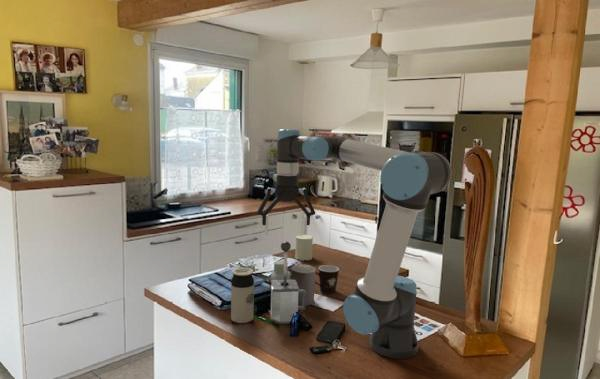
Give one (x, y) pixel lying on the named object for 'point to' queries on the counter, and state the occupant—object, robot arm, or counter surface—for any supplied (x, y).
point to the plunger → (285, 260)
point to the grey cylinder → (304, 282)
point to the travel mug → (242, 295)
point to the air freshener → (279, 271)
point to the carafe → (285, 301)
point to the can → (304, 247)
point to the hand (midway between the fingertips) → (285, 234)
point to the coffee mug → (328, 278)
